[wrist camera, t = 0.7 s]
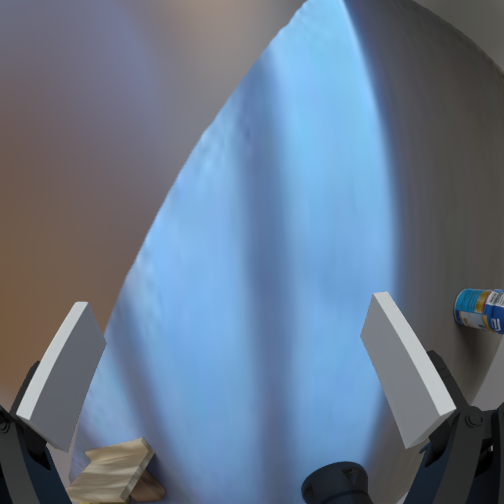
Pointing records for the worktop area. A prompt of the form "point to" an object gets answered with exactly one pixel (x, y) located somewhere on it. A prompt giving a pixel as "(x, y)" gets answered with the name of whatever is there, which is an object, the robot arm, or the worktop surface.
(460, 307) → the beverage bottle
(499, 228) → the worktop surface
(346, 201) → the worktop surface
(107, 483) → the wall board
